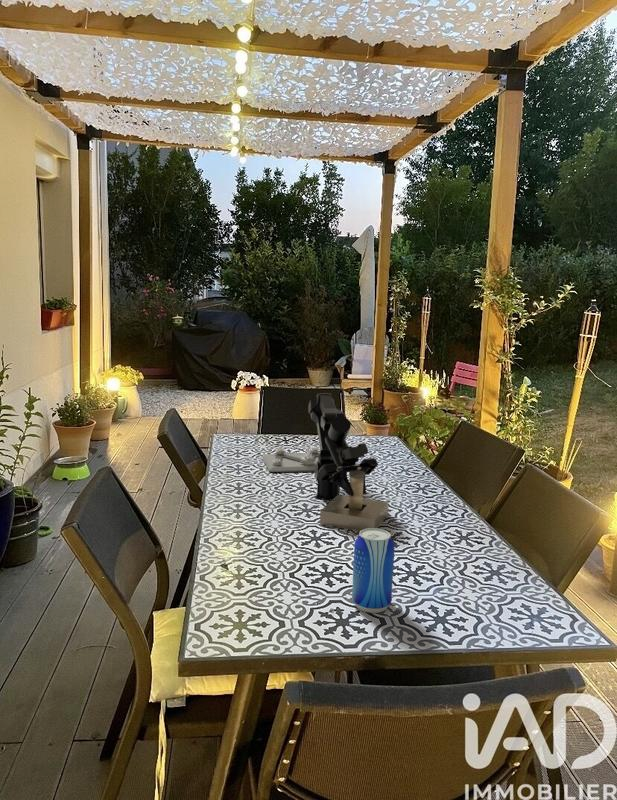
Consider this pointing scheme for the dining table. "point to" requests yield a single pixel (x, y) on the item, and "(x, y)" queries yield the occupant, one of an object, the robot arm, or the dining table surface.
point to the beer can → (373, 570)
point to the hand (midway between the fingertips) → (358, 494)
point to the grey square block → (353, 514)
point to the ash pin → (356, 489)
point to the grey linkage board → (291, 461)
